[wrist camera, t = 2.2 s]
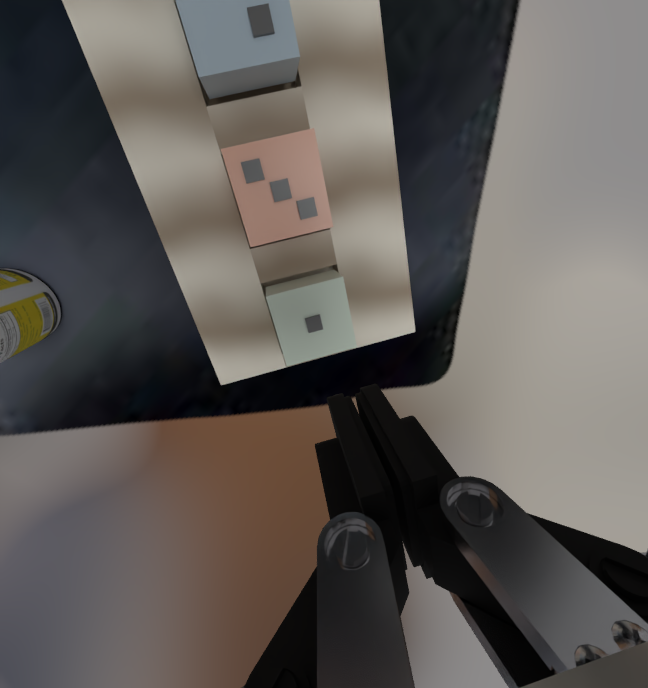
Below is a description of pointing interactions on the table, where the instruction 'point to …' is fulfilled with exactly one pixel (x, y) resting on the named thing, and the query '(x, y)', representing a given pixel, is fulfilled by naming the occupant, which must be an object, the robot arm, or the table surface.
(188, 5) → the key two dots
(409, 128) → the table surface
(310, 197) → the key three dots
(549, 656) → the robot arm
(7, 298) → the supplement bottle
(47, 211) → the table surface
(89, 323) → the table surface
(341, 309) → the key one dot
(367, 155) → the key panel
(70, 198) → the table surface
